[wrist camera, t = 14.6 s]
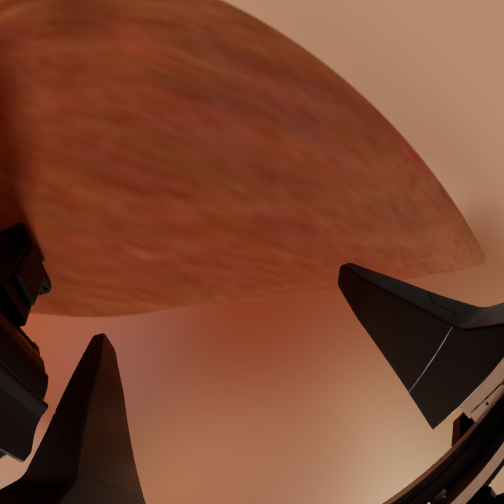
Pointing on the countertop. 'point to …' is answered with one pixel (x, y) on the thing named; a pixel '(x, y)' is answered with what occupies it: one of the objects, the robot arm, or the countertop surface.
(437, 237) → the countertop surface
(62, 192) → the countertop surface
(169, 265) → the countertop surface
